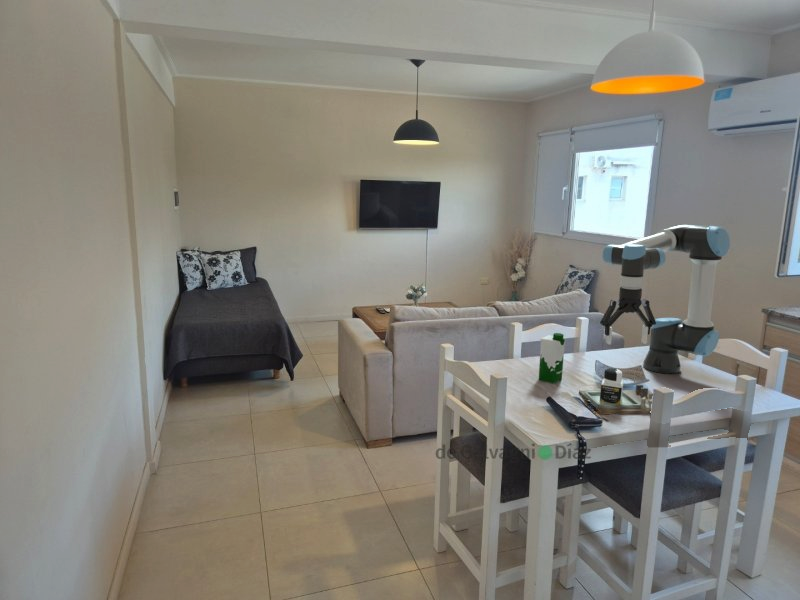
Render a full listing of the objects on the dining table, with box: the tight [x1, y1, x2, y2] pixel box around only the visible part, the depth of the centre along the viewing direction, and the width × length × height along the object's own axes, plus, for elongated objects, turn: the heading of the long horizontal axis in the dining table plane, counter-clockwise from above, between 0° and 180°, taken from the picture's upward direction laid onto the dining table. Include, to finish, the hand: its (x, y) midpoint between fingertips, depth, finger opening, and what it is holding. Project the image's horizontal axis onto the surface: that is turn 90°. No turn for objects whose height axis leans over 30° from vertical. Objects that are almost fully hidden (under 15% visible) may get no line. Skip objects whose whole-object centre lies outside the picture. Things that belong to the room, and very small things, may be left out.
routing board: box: [578, 384, 654, 415], centre depth 202 cm, size 28×20×4 cm
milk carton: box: [538, 332, 567, 384], centre depth 224 cm, size 9×9×20 cm
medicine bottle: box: [600, 367, 624, 404], centre depth 199 cm, size 7×7×12 cm
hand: (626, 343), depth 201 cm, fingers open, 13 cm apart
